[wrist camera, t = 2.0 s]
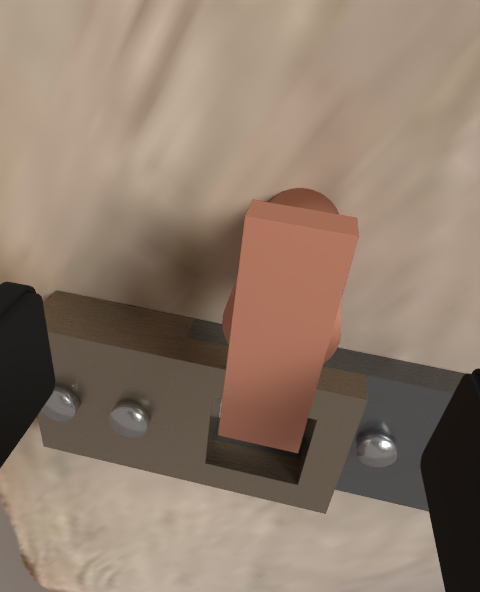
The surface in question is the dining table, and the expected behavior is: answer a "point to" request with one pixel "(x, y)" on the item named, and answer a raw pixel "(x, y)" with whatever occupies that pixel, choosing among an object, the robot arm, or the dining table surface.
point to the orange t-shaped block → (284, 315)
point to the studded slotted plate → (206, 406)
